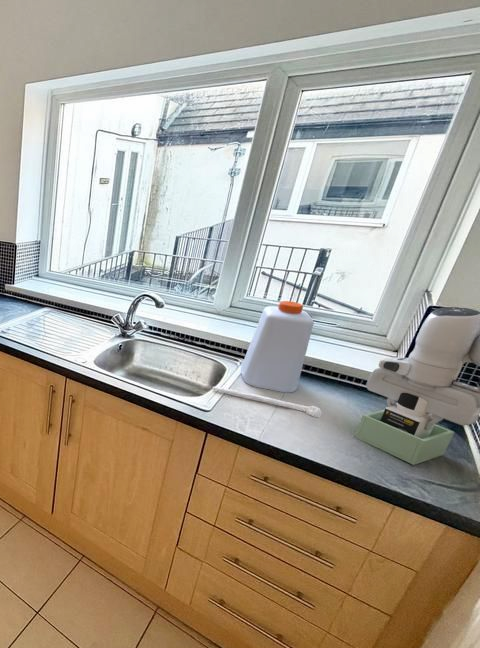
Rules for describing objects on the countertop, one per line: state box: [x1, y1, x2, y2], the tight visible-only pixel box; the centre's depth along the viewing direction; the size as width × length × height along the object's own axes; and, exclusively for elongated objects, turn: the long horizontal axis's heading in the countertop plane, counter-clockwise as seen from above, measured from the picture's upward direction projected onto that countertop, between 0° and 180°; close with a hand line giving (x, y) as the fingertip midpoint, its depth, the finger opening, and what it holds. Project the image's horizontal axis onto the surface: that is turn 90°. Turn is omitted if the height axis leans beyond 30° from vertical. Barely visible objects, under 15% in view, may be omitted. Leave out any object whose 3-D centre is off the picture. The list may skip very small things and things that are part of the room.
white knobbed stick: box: [212, 386, 323, 418], centre depth 128 cm, size 28×4×3 cm, turn 58°
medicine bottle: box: [380, 393, 436, 439], centre depth 106 cm, size 7×7×12 cm
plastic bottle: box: [240, 300, 315, 394], centre depth 137 cm, size 15×15×28 cm
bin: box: [354, 408, 455, 466], centre depth 108 cm, size 13×13×7 cm
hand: (408, 421), depth 107 cm, fingers closed on medicine bottle, 5 cm apart
